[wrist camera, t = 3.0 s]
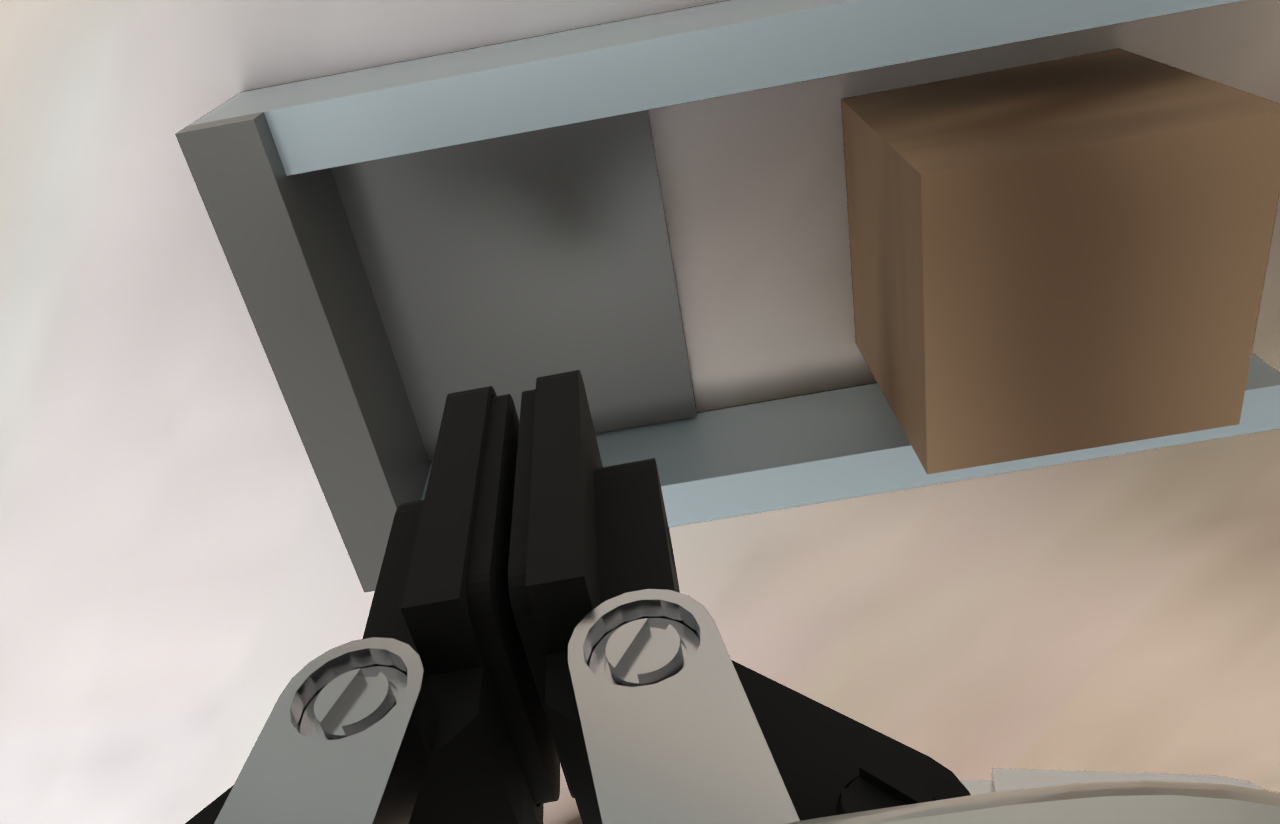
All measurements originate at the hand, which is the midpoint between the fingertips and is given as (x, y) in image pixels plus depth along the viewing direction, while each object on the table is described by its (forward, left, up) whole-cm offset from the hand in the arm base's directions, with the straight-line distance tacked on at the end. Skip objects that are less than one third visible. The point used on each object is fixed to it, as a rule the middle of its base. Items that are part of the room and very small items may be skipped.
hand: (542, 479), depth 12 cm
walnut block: (-8, 0, -8) cm, 11 cm away
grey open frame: (-4, 0, -7) cm, 9 cm away
